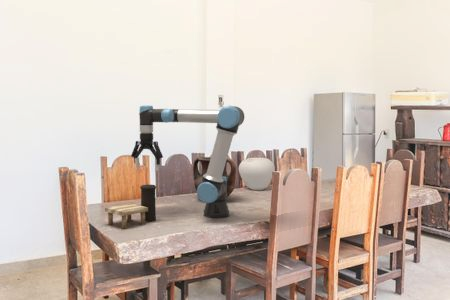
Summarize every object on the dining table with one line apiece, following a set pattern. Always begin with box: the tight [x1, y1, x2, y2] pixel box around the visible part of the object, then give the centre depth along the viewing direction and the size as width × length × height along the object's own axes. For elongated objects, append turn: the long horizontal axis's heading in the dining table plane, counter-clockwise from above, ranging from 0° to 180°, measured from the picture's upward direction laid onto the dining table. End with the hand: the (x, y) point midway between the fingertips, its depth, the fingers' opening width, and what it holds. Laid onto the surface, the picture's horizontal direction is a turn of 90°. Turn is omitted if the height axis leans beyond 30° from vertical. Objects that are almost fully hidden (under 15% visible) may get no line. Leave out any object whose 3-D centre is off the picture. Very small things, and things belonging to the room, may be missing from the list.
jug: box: [192, 156, 237, 202], centre depth 301 cm, size 32×28×30 cm
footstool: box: [104, 202, 148, 230], centre depth 234 cm, size 16×16×9 cm
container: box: [139, 184, 157, 223], centre depth 242 cm, size 9×9×20 cm
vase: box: [238, 157, 276, 191], centre depth 347 cm, size 28×27×25 cm
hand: (147, 169), depth 251 cm, fingers open, 13 cm apart
